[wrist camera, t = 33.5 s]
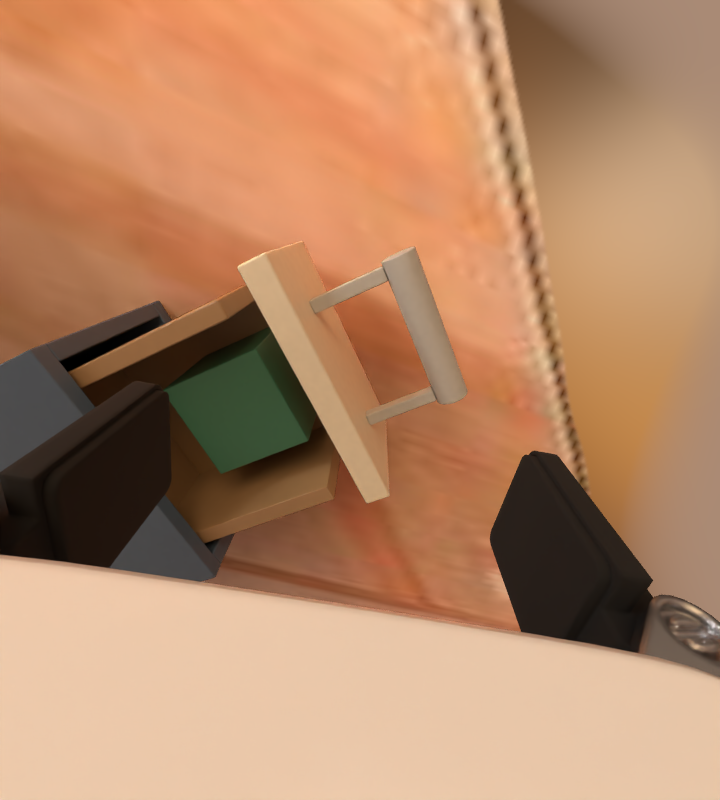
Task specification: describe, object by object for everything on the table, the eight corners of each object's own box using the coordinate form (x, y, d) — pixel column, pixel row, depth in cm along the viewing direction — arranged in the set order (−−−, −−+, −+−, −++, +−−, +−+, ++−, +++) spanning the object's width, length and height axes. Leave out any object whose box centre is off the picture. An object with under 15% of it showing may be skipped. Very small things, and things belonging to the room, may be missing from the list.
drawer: (390, 196, 20) (398, 185, 13) (461, 389, 24) (497, 461, 17) (103, 340, 23) (-16, 393, 16) (208, 484, 28) (151, 576, 21)
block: (204, 355, 22) (161, 390, 18) (281, 321, 21) (255, 348, 17) (249, 426, 24) (220, 474, 20) (322, 397, 23) (308, 441, 19)
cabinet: (159, 300, 23) (29, 349, 14) (265, 465, 28) (215, 577, 19) (-18, 389, 26) (-215, 475, 17) (105, 525, 31) (-2, 646, 22)
